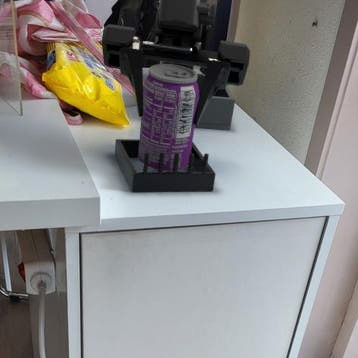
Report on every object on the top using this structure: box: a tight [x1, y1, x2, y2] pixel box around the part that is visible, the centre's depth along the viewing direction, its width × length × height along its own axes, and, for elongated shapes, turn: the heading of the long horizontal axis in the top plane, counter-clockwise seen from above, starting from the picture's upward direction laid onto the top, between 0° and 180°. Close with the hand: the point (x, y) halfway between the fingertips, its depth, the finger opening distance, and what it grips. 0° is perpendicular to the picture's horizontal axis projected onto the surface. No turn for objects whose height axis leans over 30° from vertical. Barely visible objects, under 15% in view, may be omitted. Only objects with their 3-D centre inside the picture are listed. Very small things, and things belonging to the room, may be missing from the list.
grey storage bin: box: [194, 73, 236, 131], centre depth 107 cm, size 12×12×5 cm
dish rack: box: [114, 138, 217, 193], centre depth 88 cm, size 11×11×5 cm
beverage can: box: [137, 63, 199, 172], centre depth 85 cm, size 7×7×12 cm
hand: (168, 119), depth 84 cm, fingers closed on beverage can, 7 cm apart
